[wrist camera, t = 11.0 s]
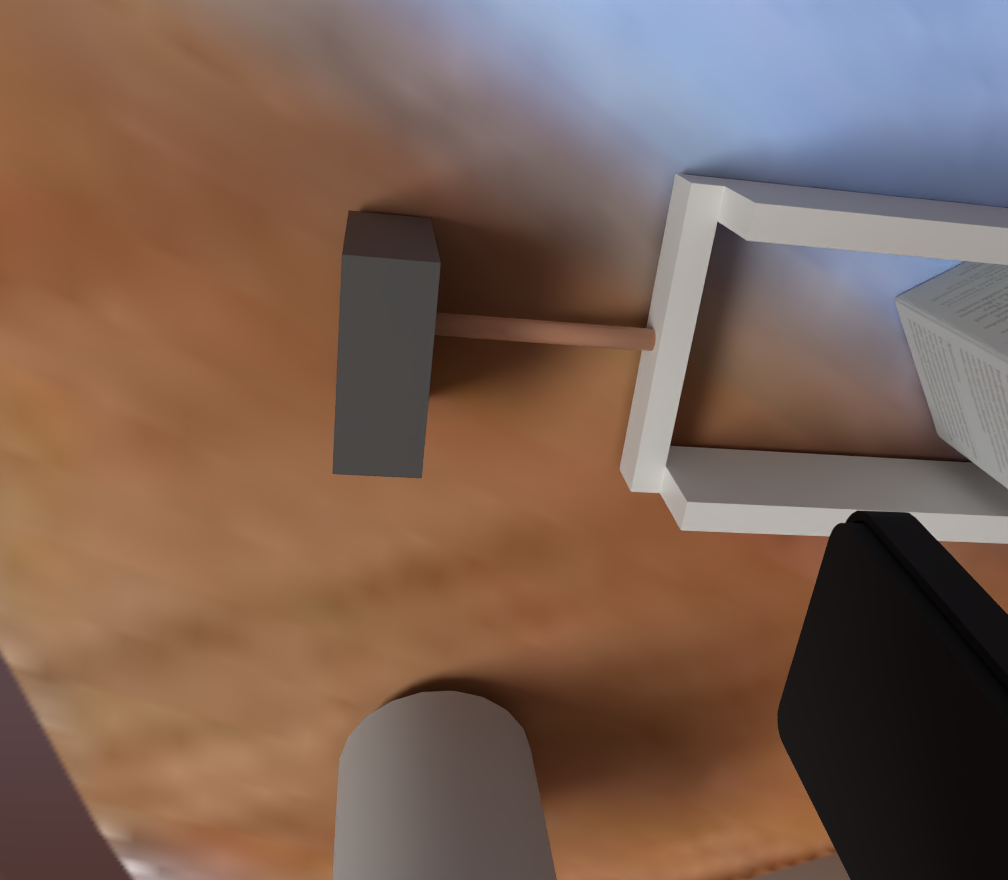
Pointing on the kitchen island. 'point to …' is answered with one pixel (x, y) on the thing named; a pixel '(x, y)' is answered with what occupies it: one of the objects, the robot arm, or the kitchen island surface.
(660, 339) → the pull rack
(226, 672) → the kitchen island surface
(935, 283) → the skincare box
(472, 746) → the can
